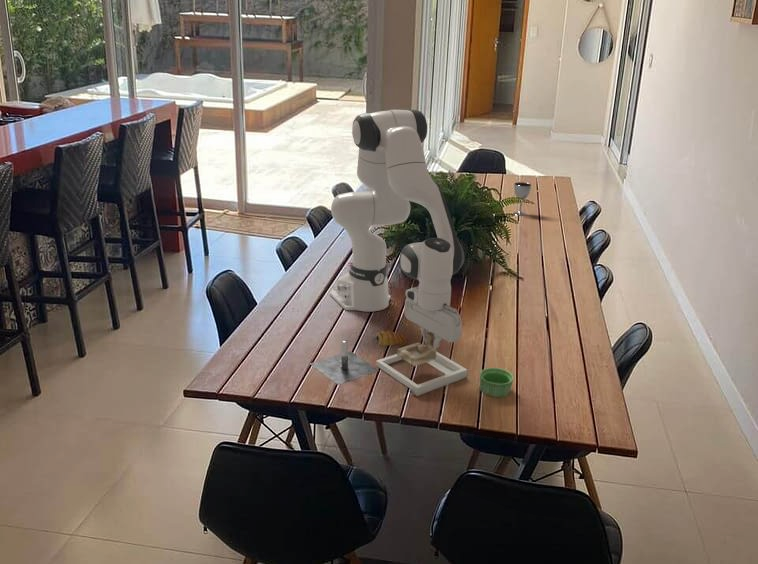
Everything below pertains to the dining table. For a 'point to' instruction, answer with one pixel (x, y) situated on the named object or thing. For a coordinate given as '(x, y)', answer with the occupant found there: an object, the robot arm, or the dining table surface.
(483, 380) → the ramekin
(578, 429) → the dining table surface
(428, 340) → the ring
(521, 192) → the wine glass
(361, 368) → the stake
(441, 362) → the tray
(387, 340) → the pastry
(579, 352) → the dining table surface
